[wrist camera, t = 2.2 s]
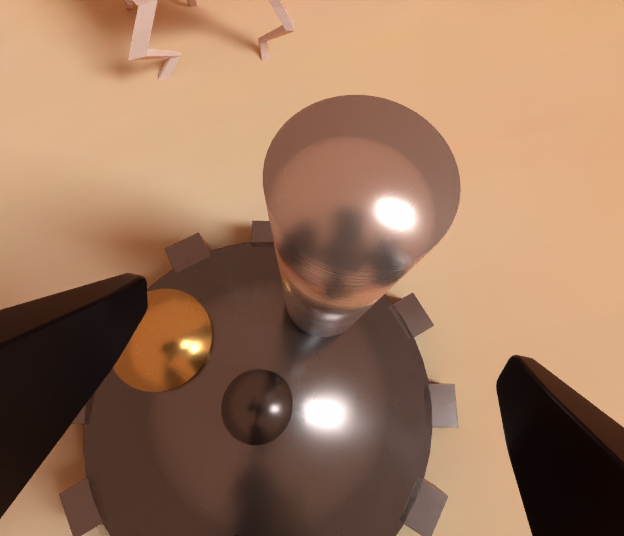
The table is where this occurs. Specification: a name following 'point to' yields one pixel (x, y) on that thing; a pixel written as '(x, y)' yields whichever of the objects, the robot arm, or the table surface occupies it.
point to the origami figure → (140, 51)
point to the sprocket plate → (297, 467)
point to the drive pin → (354, 205)
